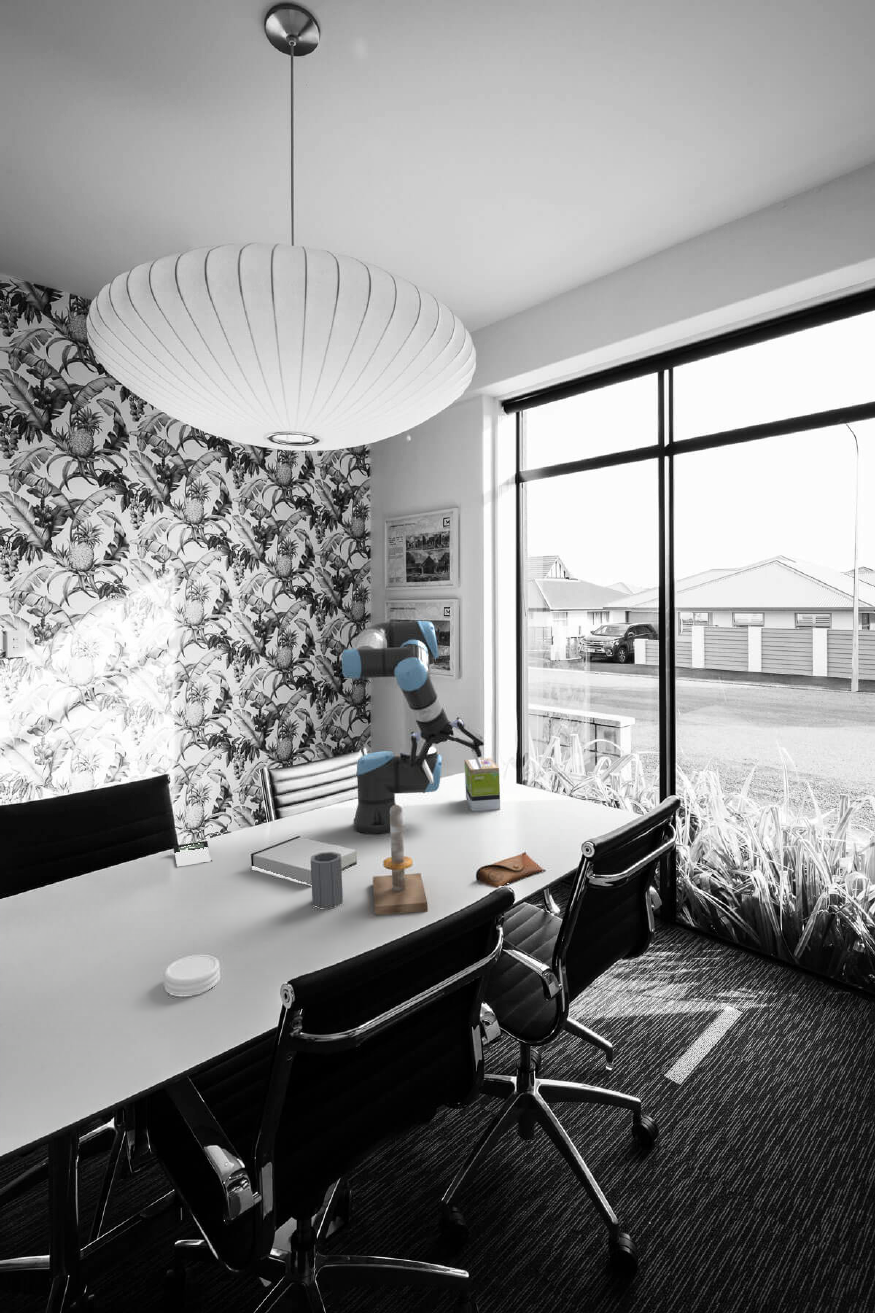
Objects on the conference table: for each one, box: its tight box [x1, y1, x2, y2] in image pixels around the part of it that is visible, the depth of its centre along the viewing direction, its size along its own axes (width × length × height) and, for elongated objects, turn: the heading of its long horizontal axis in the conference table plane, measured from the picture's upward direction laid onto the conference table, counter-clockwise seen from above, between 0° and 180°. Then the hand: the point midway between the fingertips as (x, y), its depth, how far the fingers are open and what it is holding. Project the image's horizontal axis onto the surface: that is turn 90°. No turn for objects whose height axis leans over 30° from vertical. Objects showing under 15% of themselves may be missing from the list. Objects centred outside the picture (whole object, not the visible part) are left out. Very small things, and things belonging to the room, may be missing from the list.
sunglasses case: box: [475, 851, 547, 889], centre depth 184 cm, size 18×7×7 cm, turn 130°
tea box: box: [464, 757, 501, 812], centre depth 248 cm, size 15×10×15 cm, turn 6°
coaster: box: [163, 954, 221, 995], centre depth 135 cm, size 10×10×4 cm
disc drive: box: [250, 835, 358, 885], centre depth 193 cm, size 18×22×5 cm
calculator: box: [172, 840, 209, 854], centre depth 204 cm, size 9×12×3 cm
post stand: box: [372, 804, 429, 916], centre depth 171 cm, size 12×18×22 cm, turn 6°
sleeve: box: [311, 852, 344, 909], centre depth 170 cm, size 7×7×11 cm
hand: (456, 772), depth 191 cm, fingers open, 13 cm apart
